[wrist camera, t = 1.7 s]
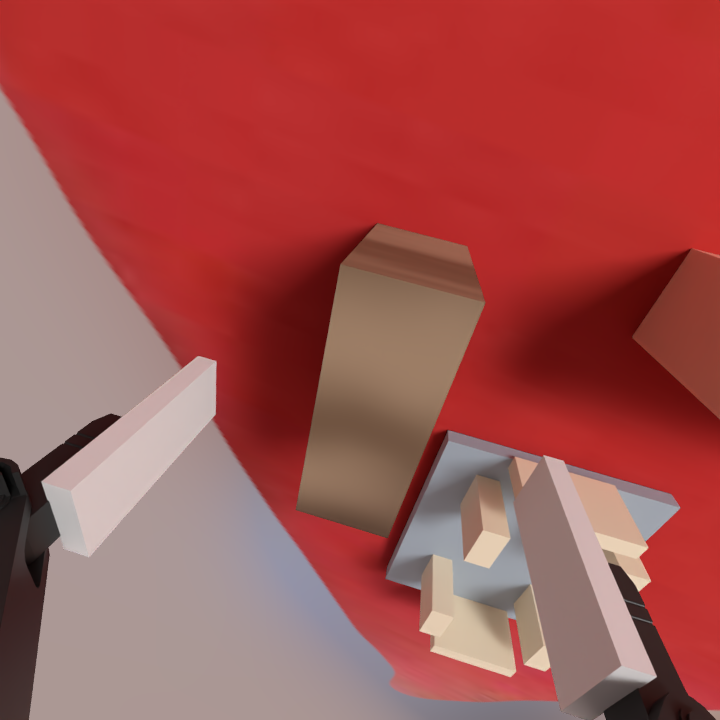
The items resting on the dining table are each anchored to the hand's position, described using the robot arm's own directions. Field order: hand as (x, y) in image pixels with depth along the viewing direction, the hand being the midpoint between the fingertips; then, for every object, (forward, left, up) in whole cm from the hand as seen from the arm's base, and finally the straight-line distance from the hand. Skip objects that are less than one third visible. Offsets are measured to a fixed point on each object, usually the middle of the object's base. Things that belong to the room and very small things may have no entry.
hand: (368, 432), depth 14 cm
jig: (+13, +12, -8) cm, 19 cm away
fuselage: (0, 0, -8) cm, 8 cm away
